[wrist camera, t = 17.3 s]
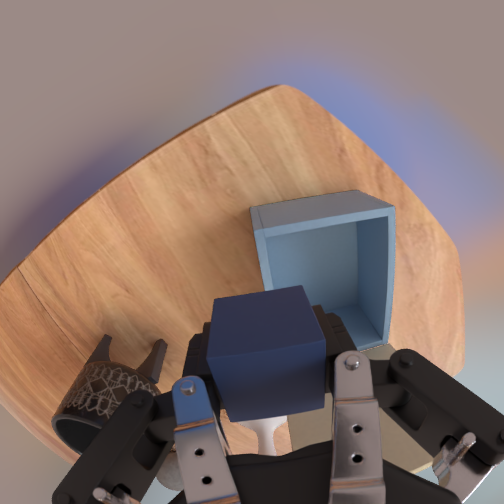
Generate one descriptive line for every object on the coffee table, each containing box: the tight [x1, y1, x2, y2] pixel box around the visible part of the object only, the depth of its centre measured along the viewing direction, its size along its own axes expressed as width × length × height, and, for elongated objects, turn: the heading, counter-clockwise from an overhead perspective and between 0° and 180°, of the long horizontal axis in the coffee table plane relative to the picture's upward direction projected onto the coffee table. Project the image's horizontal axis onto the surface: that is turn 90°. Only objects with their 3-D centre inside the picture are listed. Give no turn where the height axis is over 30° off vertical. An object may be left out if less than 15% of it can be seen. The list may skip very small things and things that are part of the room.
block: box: [206, 285, 326, 422], centre depth 11 cm, size 4×4×4 cm
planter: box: [51, 334, 167, 455], centre depth 29 cm, size 13×13×18 cm
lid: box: [287, 343, 434, 474], centre depth 19 cm, size 16×13×5 cm
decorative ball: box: [156, 452, 184, 491], centre depth 45 cm, size 10×10×10 cm
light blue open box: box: [250, 190, 395, 352], centre depth 29 cm, size 16×13×9 cm
